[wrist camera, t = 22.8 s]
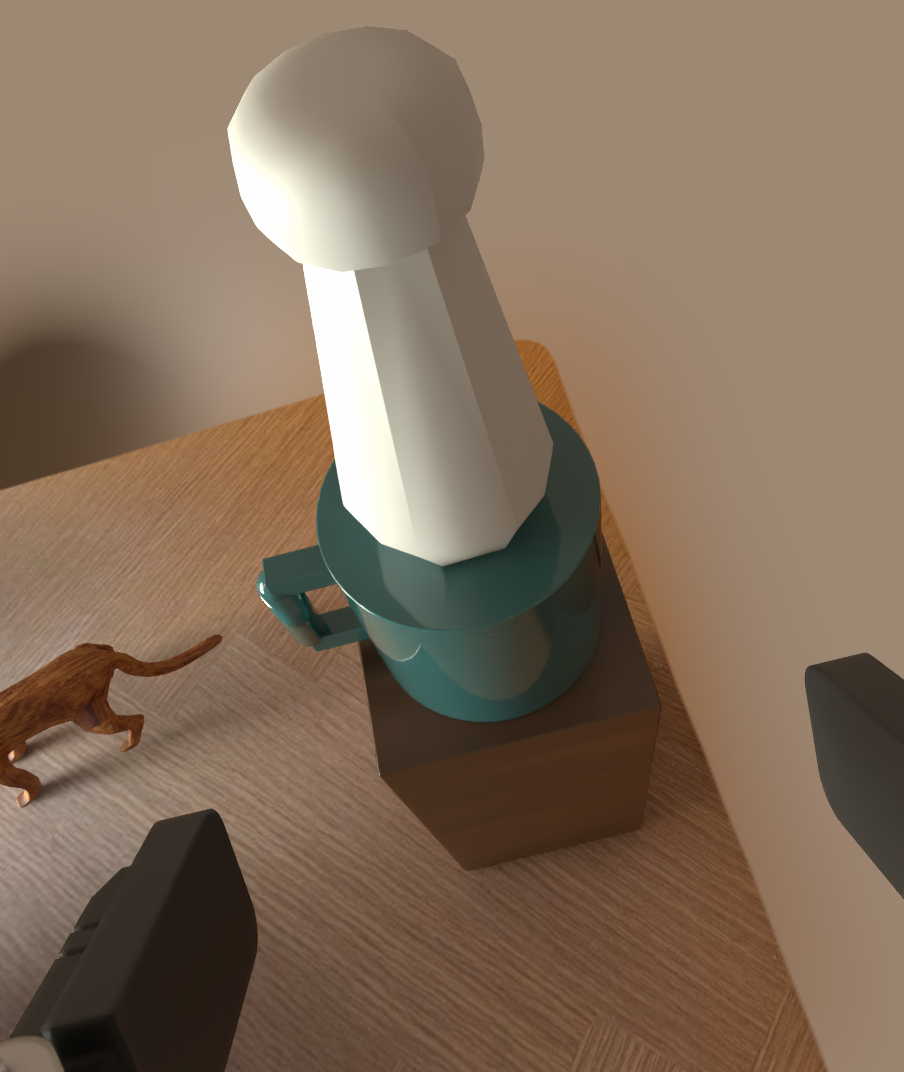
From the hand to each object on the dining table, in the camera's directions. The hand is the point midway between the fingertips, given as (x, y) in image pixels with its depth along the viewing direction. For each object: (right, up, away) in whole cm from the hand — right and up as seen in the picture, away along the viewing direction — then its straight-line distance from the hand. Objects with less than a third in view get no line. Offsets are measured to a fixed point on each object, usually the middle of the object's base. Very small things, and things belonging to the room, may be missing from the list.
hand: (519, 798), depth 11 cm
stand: (+4, -10, +38) cm, 40 cm away
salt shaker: (-1, +4, +14) cm, 14 cm away
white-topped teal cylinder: (-1, 0, +20) cm, 20 cm away
